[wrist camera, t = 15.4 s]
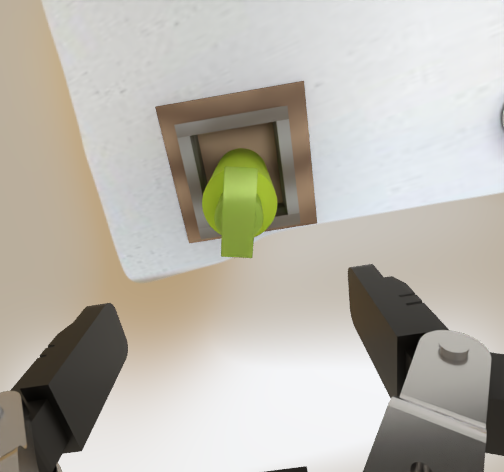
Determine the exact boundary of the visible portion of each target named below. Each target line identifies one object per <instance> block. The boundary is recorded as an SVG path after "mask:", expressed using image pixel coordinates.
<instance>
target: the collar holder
mask: <svg viewBox="0 0 504 472" xmlns="http://www.w3.org/2000/svg"><path fill="white" fill-rule="evenodd" d="M155 108H156V112H157V116H158V120H159V124H160V128H161V132H162V136H163V140H164V144H165V148H166V152H167V156H168V160H169V164H170V168H171V172H172V176H173V180H174V184H175V188H176V192H177V196H178V200H179V204H180V208H181V212H182V216H183V220H184V224H185V228H186V232H187V236H188V240H189V243H194V242H201V241H207V240H213V239H220V238H222V235H221V234H219V233H217V232H216V231H215V230H214V229H213V228H212V227H211V226H210V225H209V223H208V222H207V220H206V218H205V216H204V213H203V208H202V198H203V193H204V190H205V188H206V186H207V184H208V182H209V180H210V178H211V176H212V175H213V173H214V171H215V169H216V167H217V165H218V163H219V161H220V160H221V158H222V157H223V156H224V155H225V154H226V153H228V152H229V151H231V150H234V149H238V148H245V149H249V150H252V151H254V152H256V153H257V154H258V155H259V156H260V157H261V158H262V159H263V161H264V162H265V165H266V167H267V170H268V173H269V176H270V179H271V181H272V184H273V187H274V190H275V193H276V196H277V211H276V215H275V217H274V220H273V221H272V223H271V224H270V226H269V227H268V228H267V229H266V230H265V231H271V230H277V229H284V228H290V227H296V226H303V225H309V224H315V223H317V217H316V206H315V196H314V185H313V174H312V163H311V153H310V142H309V131H308V121H307V110H306V99H305V88H304V81H301V82H295V83H289V84H283V85H278V86H272V87H266V88H260V89H255V90H249V91H243V92H237V93H232V94H226V95H220V96H214V97H209V98H203V99H197V100H191V101H186V102H180V103H174V104H169V105H163V106H157V107H155Z"/></svg>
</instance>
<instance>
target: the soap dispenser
mask: <svg viewBox="0 0 504 472" xmlns="http://www.w3.org/2000/svg"><path fill="white" fill-rule="evenodd" d="M202 208H203V213H204V216H205V218H206V220H207V222H208V223H209V225H210V226H211V227H212V228H213V229H214V230H215V231H216V232H217V233H219V234H221V235H222V241H221V256H222V257H243V258H252V254H253V240H254V237H256V236H258V235H259V234H261V233H263V232H264V231H265V230H266V229H267V228H268V227H269V226H270V224H271V223H272V221H273V220H274V217H275V215H276V211H277V196H276V193H275V190H274V187H273V184H272V181H271V179H270V176H269V173H268V170H267V167H266V165H265V162H264V161H263V159H262V158H261V157H260V156H259V155H258V154H257V153H256V152H254V151H252V150H249V149H245V148H238V149H234V150H231V151H229V152H228V153H226V154H225V155H224V156H223V157H222V158H221V160H220V161H219V163H218V165H217V167H216V169H215V171H214V173H213V175H212V176H211V178H210V180H209V182H208V184H207V186H206V188H205V190H204V193H203V198H202Z"/></svg>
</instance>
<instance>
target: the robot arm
mask: <svg viewBox="0 0 504 472" xmlns="http://www.w3.org/2000/svg"><path fill="white" fill-rule="evenodd" d="M348 282H349V300H350V312H351V317H352V320H353V324H354V326H355V328H356V330H357V332H358V334H359V336H360V338H361V340H362V342H363V344H364V346H365V348H366V350H367V352H368V354H369V356H370V358H371V360H372V362H373V364H374V366H375V368H376V370H377V372H378V374H379V376H380V378H381V380H382V382H383V384H384V386H385V388H386V390H387V392H388V394H389V396H390V398H391V400H390V402H389V404H388V406H387V409H386V412H385V414H384V417H383V420H382V423H381V425H380V428H379V431H378V433H377V436H376V438H375V441H374V444H373V446H372V449H371V452H370V454H369V457H368V460H367V462H366V465H365V468H364V471H363V472H484V460H485V453H491V454H497V455H502V456H504V354H496V353H491V352H489V350H488V349H487V348H486V347H485V346H484V345H483V344H482V343H480V342H479V341H478V340H476V339H475V338H473V337H471V336H469V335H466V334H464V333H460V332H456V331H450V330H448V328H447V327H446V326H445V325H444V324H443V323H442V322H441V321H440V320H439V319H438V318H437V316H436V315H435V314H434V313H433V312H432V311H431V310H430V309H429V308H428V307H427V306H426V305H425V304H424V303H422V300H421V299H420V298H419V297H418V296H417V295H415V293H414V292H413V291H412V289H411V288H410V287H409V286H408V285H407V284H406V283H404V282H402V281H400V280H398V279H396V278H394V277H385V278H384V277H383V276H382V275H381V274H380V272H379V271H378V270H377V269H376V268H375V266H374V265H373V264H369V265H363V266H356V267H350V268H349V269H348ZM127 353H128V344H127V339H126V337H125V334H124V331H123V328H122V326H121V323H120V320H119V317H118V315H117V312H116V310H115V307H114V306H113V305H112V304H111V303H107V304H100V305H93V306H87V307H86V308H85V309H84V310H83V311H82V313H81V314H80V315H79V316H78V317H77V319H76V320H75V321H74V322H73V323H72V324H71V325H69V326H68V327H67V328H65V329H64V330H63V331H61V332H60V333H59V334H58V335H57V336H56V337H55V338H54V339H53V340H52V342H51V343H50V344H49V345H48V348H46V349H45V350H44V351H43V352H42V354H41V355H40V358H37V359H36V361H35V362H34V363H33V364H32V365H31V367H30V368H29V369H28V370H27V371H26V373H25V374H24V375H23V376H22V377H21V379H20V380H19V381H18V382H17V383H16V385H15V386H14V387H13V388H12V389H11V390H10V391H6V392H1V393H0V472H62V470H61V467H60V466H59V464H58V461H59V459H60V457H61V455H62V454H63V453H71V452H78V451H82V449H83V447H84V445H85V443H86V441H87V439H88V437H89V435H90V433H91V430H92V428H93V427H94V424H95V422H96V420H97V418H98V416H99V414H100V412H101V410H102V408H103V406H104V404H105V401H106V400H107V397H108V395H109V393H110V391H111V389H112V387H113V385H114V383H115V381H116V379H117V377H118V374H119V373H120V370H121V368H122V366H123V364H124V362H125V360H126V357H127ZM267 472H307V467H298V468H290V469H282V470H275V471H267Z"/></svg>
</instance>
